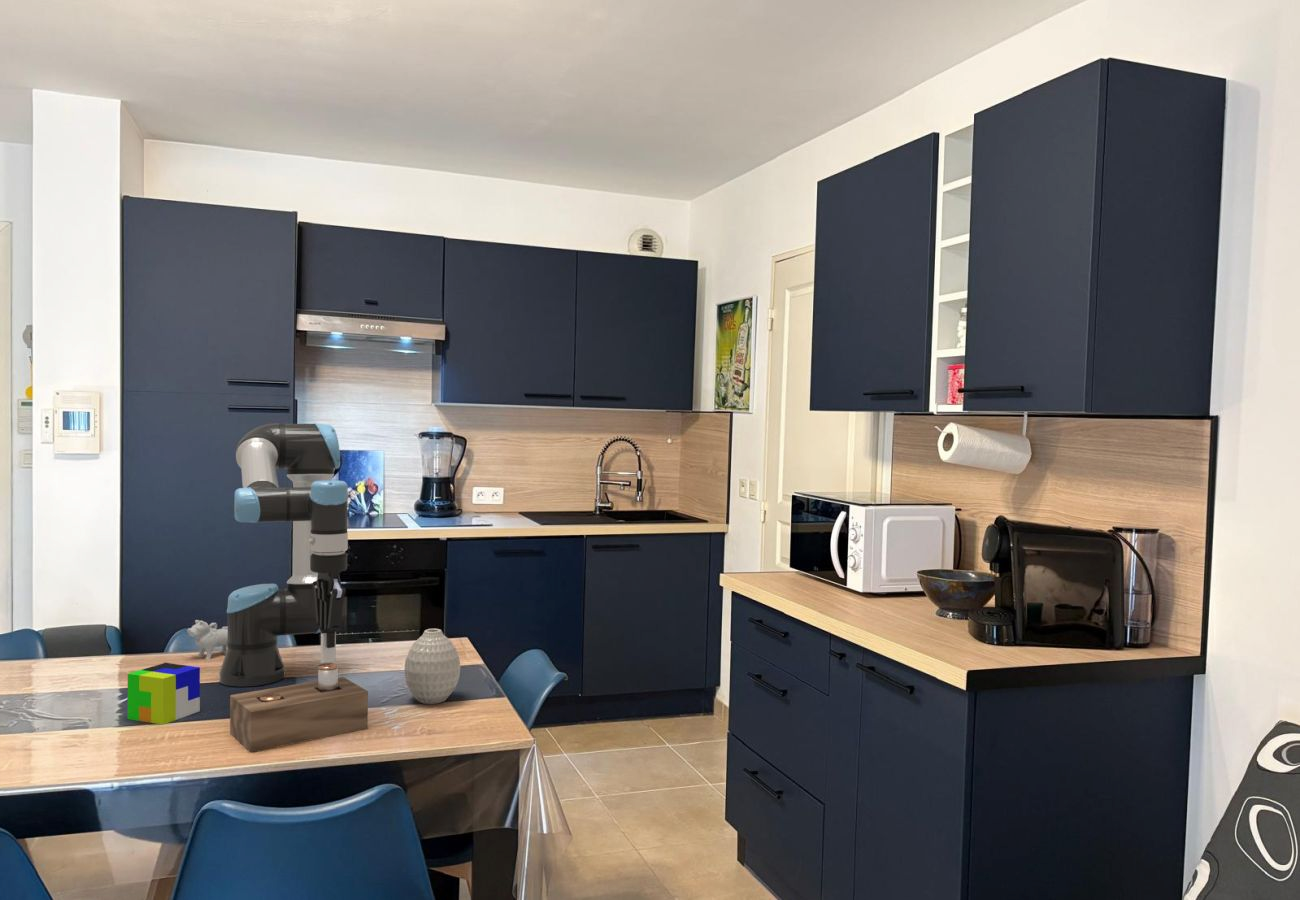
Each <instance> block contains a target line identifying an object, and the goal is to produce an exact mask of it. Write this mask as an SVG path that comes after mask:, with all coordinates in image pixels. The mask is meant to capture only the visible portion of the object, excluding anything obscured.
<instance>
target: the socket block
mask: <svg viewBox="0 0 1300 900" xmlns="http://www.w3.org/2000/svg"><path fill="white" fill-rule="evenodd" d="M267 694H279V695H281V700H277V701H271V702H265V703H262V702H261V701H260V697H261V696H263V695H267ZM368 695H369V691H368V690H366V689H365V688H363V687H361V686H360V685H358V684H356V683H355V682H353V681H351V680H349V679H348V678H346V677H344V676H338V690H334V691H328V692H323V693H321V692H319V691H318V680H313V681H308V682H301V683H297V684H296V683H295V684H291V685H285V686H284V685H283V686H278V687H273V688H272V687H271V688H265V689H260V690H259V689H258V690H254V691H248V692H242V693H236V694H231V695H229V697H230V698H229V734H230V736H233V738H234V739H236V741H238V742H239V743H240V744H241V745H242V746H243V747H244V748H245V749H246V748H247V749H246V750H247V751H248V752H249V753H253V752H257V751H258V752H259V751H263V750H267V749H274V748H278V747H277V746H279V747H283V746H282V745H284V746H288V745H292V744H291V743H293V744H297V742H298V743H301V742H306V741H312V740H317V739H322V738H326V737H332V736H336V735H341V734H342V735H343V734H347V733H351V732H356V731H361V730H366V729H369V726H368V724H369V723H368V721H369V718H368V717H369V716H368V715H369V714H368V713H369V710H368V709H369V696H368ZM287 744H288V745H287ZM273 747H274V748H273Z"/></svg>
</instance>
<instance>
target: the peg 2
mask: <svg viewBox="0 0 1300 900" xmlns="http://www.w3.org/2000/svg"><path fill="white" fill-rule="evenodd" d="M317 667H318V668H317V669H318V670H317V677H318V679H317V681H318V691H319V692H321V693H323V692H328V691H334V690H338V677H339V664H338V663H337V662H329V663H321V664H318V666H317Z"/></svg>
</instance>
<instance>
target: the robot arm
mask: <svg viewBox="0 0 1300 900" xmlns="http://www.w3.org/2000/svg"><path fill="white" fill-rule="evenodd" d="M337 434H338V433H337V432H336V429H335V427H333V426H332V425H330V424H322V423H321V424H320V423H278V422H277V423H276V422H275V423H274V422H273V423H267V424H262V425H261V426H258V427H255V428H254V429H252V430H251V431H250V430H249V432H247V433H245V435H244V436H243V437H242V438H241V439H240V440H239V442H238V444H237V446H236V449H235V460H236V463H237V465H238V466H239V468H240V469H241V482H242V487H240V488H239V487H238V488H237V489H236V490H235V491H234V519H235V521H237V522H239V523H251V524H256V523H277V522H278V523H279V522H292V576H291V577H290V578H289V579H287V581H286V588H284V589H283V588H281V589H279V587H278V584H276V583H259V584H254V585H249V586H248V585H247V586H244V587H242V588H238V589H236V590H234V591H232V592H231V593H230V594H229V595H228V598H227V609H226V614H227V626H228V634H227V648H226V653H225V656H224V659H223V662H222V665H221V668H220V671H219V683H220V684H222V685H224V686H228V687H255V686H262V685H268V684H272V683H276V682H278V681H280V680H282V679H284V677H285V673H286V672H285V669H286V668H285V664H284V662H283V660H282V656H281V653H280V650H279V648H278V637H279V636H290V635H304V634H305V635H306V634H319V633H320V663H321V664H324V663H337V662H336V661H337V660H336V659H337V658H336V657H337V642H336V641H337V632H338V631H341V628H342V627H341V626H342V619H343V618H342V616H343V607H344V600H345V599H344V598H345V595H346V592H347V590H346V588H345V587H344V588H343V587H342V581H341V577H340V576H341V575H340V573H341V572H345V571H346V570H347V569H348V554H347V553H346V551H347V550H348V547H349V543H348V542H349V531H348V507H349V506H348V504H349V503H348V500H349V498H350V497H349V492H348V484H347V482H345V481H344V480H334V479H333V480H332V478H333V477H334V476H335V470H337V469H339V468H340V467H341V451H340V445H339V444H340V443H339V440H338V439H339V438H338V435H337ZM277 469H284V470H285V469H286V477H287V478H288V479H289V480H290V481H292V487H289V486H286V487H282V486H281V487H280V486H279V480H278V475H277ZM341 587H342V588H341Z"/></svg>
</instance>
